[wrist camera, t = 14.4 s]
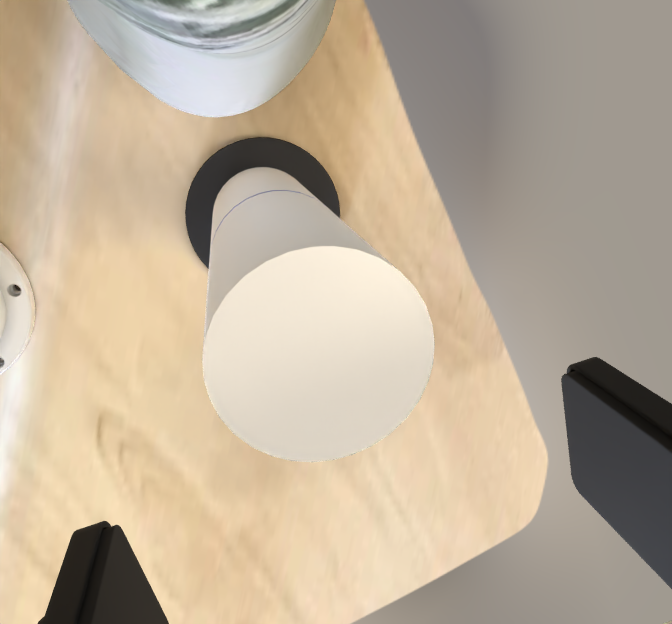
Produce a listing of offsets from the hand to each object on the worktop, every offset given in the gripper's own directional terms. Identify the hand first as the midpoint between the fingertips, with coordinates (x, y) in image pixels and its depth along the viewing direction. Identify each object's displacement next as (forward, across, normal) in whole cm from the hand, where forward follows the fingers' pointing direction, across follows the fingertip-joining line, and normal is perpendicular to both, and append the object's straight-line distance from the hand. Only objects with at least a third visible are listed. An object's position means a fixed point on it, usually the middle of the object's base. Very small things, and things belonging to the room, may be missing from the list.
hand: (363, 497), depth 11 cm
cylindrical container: (+31, -1, 0) cm, 31 cm away
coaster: (+32, -1, 0) cm, 32 cm away
